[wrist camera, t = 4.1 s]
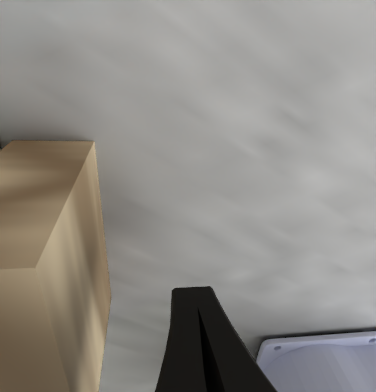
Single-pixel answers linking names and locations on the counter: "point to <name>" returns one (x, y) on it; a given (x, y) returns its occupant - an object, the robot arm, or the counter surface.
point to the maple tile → (51, 268)
